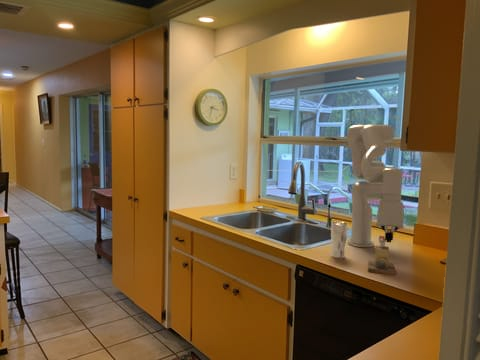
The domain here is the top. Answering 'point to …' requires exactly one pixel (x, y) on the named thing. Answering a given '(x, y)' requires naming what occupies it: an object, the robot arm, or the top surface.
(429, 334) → the top surface
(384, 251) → the valve
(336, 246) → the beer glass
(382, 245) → the valve lever
